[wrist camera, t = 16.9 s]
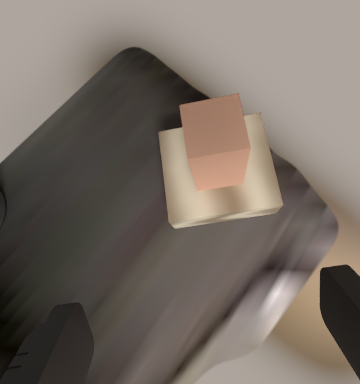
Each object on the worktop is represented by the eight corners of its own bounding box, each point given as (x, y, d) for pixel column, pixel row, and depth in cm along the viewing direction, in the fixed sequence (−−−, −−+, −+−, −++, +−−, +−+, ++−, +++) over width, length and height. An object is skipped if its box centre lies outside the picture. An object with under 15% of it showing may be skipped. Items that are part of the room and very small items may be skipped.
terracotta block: (197, 191, 31) (187, 159, 23) (190, 150, 33) (179, 105, 24) (243, 183, 31) (251, 147, 22) (234, 142, 32) (238, 93, 24)
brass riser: (175, 228, 34) (168, 222, 31) (164, 146, 38) (158, 131, 34) (276, 213, 33) (283, 204, 29) (256, 129, 37) (260, 112, 33)
